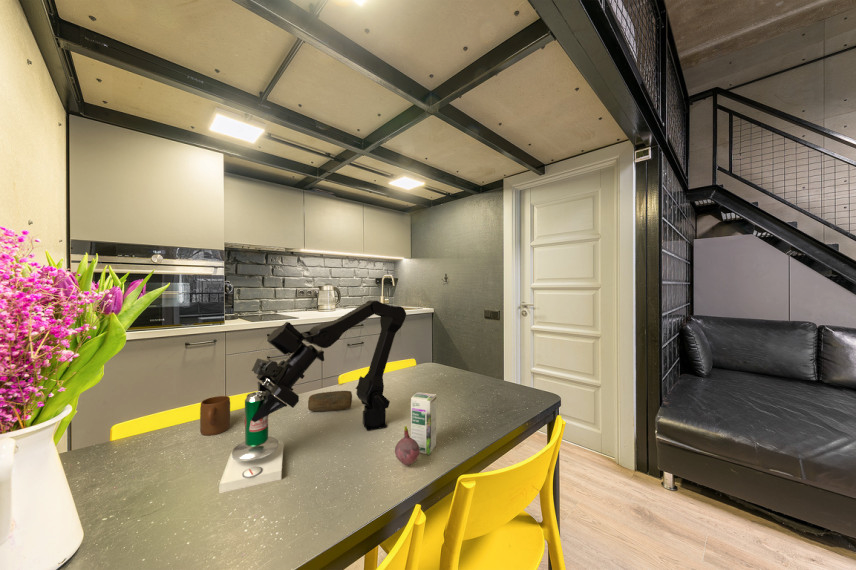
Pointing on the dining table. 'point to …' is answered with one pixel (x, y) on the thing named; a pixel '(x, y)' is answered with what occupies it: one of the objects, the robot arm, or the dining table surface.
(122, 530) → the dining table surface
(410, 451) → the vegetable
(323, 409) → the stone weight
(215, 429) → the mug
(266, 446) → the scale pan
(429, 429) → the syrup box
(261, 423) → the soda can
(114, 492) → the dining table surface
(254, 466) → the kitchen scale
